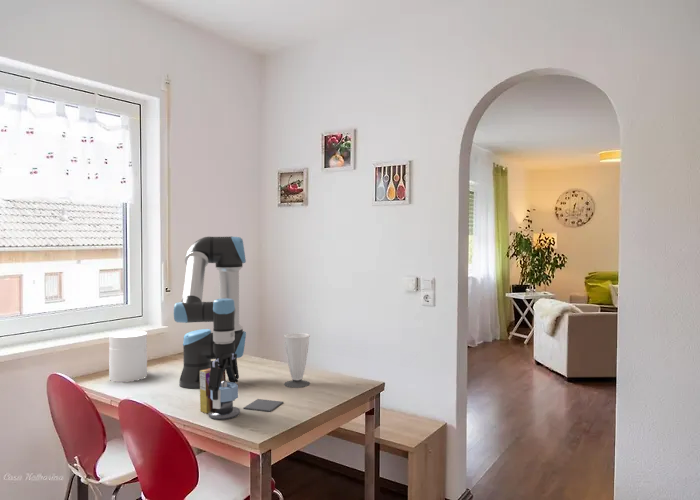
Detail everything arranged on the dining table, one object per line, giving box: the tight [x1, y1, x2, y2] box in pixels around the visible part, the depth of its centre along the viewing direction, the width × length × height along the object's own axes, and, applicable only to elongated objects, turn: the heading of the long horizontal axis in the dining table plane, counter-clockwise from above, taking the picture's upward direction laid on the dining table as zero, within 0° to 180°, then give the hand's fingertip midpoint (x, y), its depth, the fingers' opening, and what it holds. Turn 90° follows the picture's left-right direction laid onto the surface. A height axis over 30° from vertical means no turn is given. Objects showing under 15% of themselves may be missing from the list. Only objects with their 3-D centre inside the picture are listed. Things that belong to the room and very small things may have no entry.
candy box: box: [199, 368, 227, 414], centre depth 186 cm, size 9×4×15 cm, turn 140°
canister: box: [108, 330, 148, 383], centre depth 231 cm, size 16×16×20 cm
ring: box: [211, 381, 239, 402], centre depth 181 cm, size 9×9×4 cm
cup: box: [283, 332, 311, 389], centre depth 220 cm, size 12×12×22 cm
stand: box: [208, 380, 241, 421], centre depth 181 cm, size 11×11×12 cm
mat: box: [243, 398, 284, 413], centre depth 191 cm, size 11×11×1 cm
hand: (224, 404), depth 181 cm, fingers closed on ring, 9 cm apart
